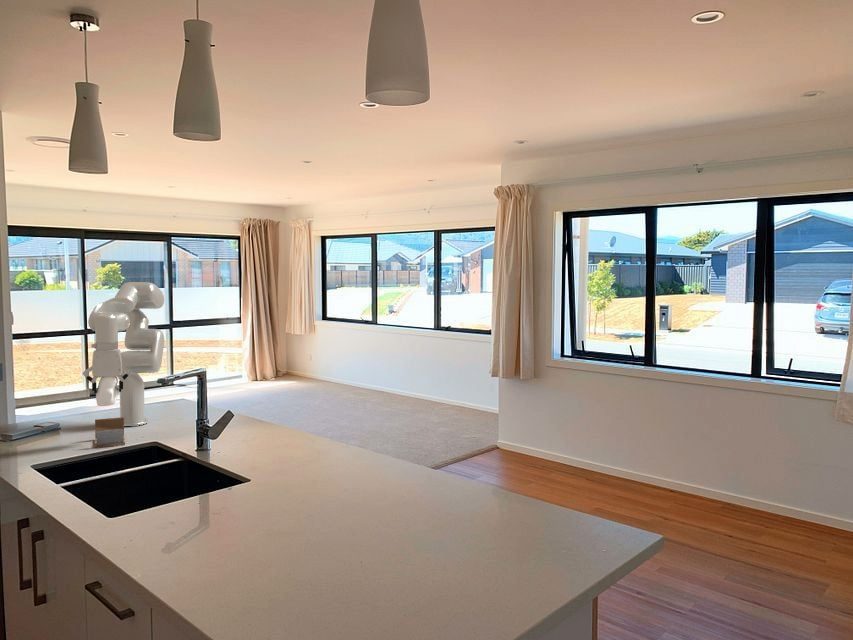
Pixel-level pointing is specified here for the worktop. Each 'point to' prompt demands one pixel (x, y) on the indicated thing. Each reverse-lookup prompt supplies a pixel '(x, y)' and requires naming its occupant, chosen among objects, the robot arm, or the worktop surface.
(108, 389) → the figurine
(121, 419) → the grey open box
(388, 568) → the worktop surface
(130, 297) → the robot arm
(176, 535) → the worktop surface
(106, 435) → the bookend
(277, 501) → the worktop surface
